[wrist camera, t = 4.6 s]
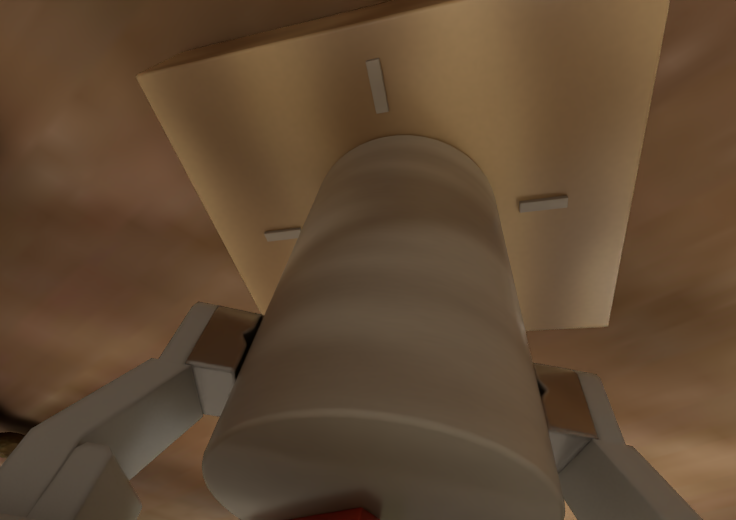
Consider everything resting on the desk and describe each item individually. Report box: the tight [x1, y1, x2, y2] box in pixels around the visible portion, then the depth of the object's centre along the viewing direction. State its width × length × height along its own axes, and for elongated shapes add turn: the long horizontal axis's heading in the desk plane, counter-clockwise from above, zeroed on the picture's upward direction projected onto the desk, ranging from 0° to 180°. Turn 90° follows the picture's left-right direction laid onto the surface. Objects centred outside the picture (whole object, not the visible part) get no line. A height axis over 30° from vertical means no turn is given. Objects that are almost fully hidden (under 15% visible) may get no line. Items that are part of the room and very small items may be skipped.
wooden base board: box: [136, 0, 670, 331], centre depth 15 cm, size 14×12×3 cm
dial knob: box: [202, 135, 565, 520], centre depth 10 cm, size 6×6×9 cm
